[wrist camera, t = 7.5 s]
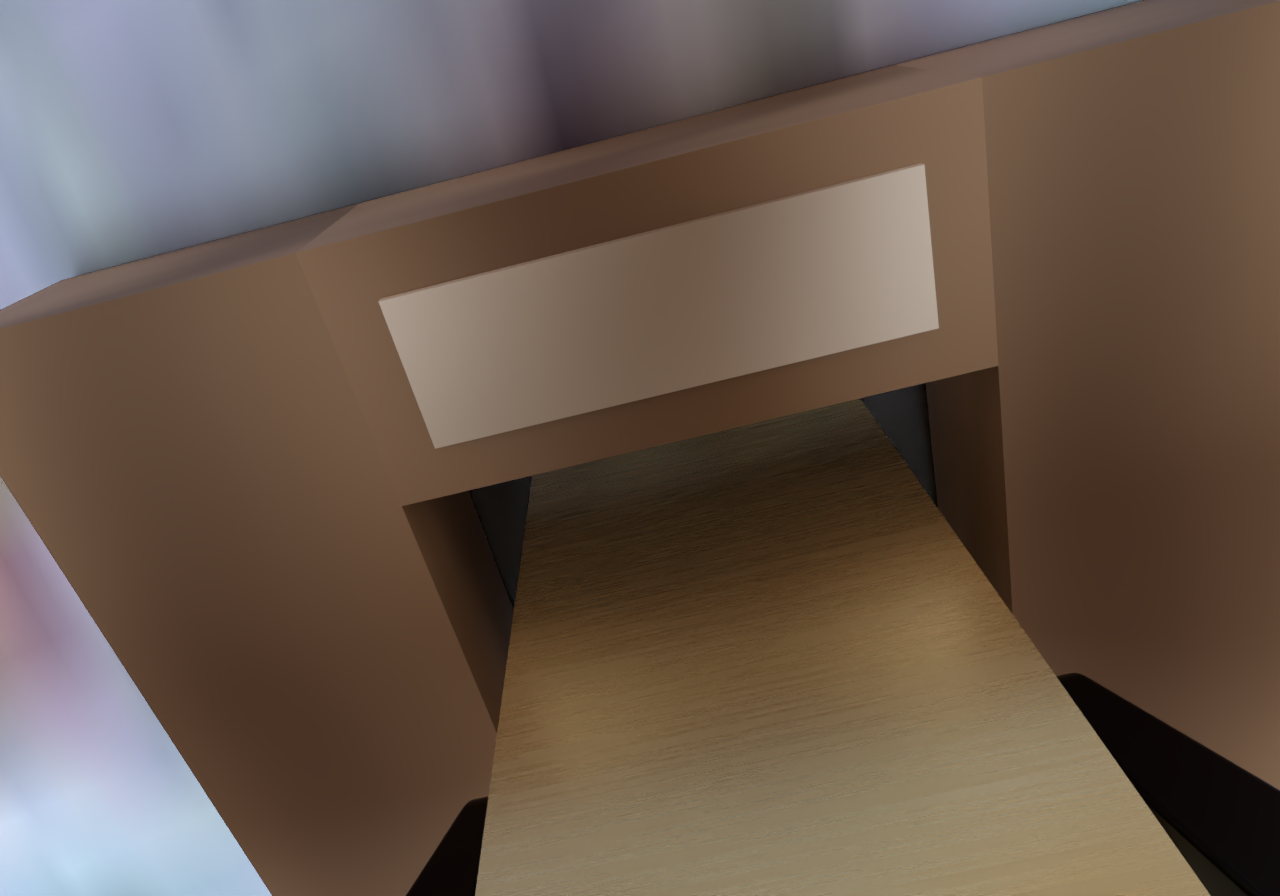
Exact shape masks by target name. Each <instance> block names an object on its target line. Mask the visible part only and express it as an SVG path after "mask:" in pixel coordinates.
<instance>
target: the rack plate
mask: <svg viewBox="0 0 1280 896" xmlns="http://www.w3.org/2000/svg"><path fill="white" fill-rule="evenodd" d="M923 383H926V392H927V402H928V412H929V422H930V433H931V443H932V453H933V463H934V473H935V483H936V494H937V504H938V509H939V511H940V512H941V514H942V515H943V516H944V518H945V519H946V521H947V522H948V524H949V525H950V526H951V528H952V529H953V531H954V532H955V533H956V535H957V536H958V538H959V539H960V541H961V542H962V543H963V545H964V546H965V548H966V549H967V551H968V552H969V553H970V555H971V556H972V558H973V559H974V560H975V562H976V563H977V565H978V566H979V568H980V569H981V570H982V572H983V573H984V575H985V576H986V577H987V579H988V580H989V582H990V583H991V585H992V586H993V587H994V589H995V590H996V592H997V593H998V595H999V596H1000V597H1001V599H1002V600H1003V602H1004V603H1005V604H1006V606H1007V607H1008V609H1009V610H1010V612H1011V613H1012V614H1013V616H1014V617H1015V619H1016V620H1017V621H1018V623H1019V624H1020V626H1021V627H1022V629H1023V630H1024V631H1025V633H1026V634H1027V636H1028V637H1029V639H1030V640H1031V641H1032V643H1033V644H1034V646H1035V647H1036V648H1037V650H1038V651H1039V653H1040V654H1041V656H1042V657H1043V658H1044V660H1045V661H1046V663H1047V664H1048V665H1049V667H1050V668H1051V670H1052V671H1053V673H1054V674H1055V675H1056V676H1059V675H1063V674H1068V673H1079V674H1082V675H1085V676H1087V677H1088V678H1090V679H1092V680H1093V681H1095V682H1097V683H1099V684H1100V685H1102V686H1104V687H1105V688H1107V689H1109V690H1110V691H1112V692H1114V693H1116V694H1117V695H1119V696H1121V697H1122V698H1124V699H1126V700H1127V701H1129V702H1131V703H1133V704H1134V705H1136V706H1138V707H1139V708H1141V709H1143V710H1145V711H1146V712H1148V713H1150V714H1151V715H1153V716H1155V717H1156V718H1158V719H1160V720H1162V721H1163V722H1165V723H1167V724H1168V725H1170V726H1172V727H1173V728H1175V729H1177V730H1179V731H1180V732H1182V733H1184V734H1185V735H1187V736H1189V737H1191V738H1192V739H1194V740H1196V741H1197V742H1199V743H1201V744H1202V745H1204V746H1206V747H1208V748H1209V749H1211V750H1213V751H1214V752H1216V753H1218V754H1219V755H1221V756H1223V757H1225V758H1226V759H1228V760H1230V761H1231V762H1233V763H1235V764H1236V765H1238V766H1240V767H1242V768H1243V769H1245V770H1247V771H1248V772H1250V773H1252V774H1254V775H1255V776H1257V777H1259V778H1260V779H1262V780H1264V781H1265V782H1267V783H1269V784H1271V785H1272V786H1274V787H1276V788H1277V789H1279V790H1280V0H1143V1H1139V2H1135V3H1132V4H1128V5H1124V6H1120V7H1116V8H1112V9H1108V10H1105V11H1101V12H1097V13H1093V14H1089V15H1085V16H1081V17H1077V18H1074V19H1070V20H1066V21H1062V22H1058V23H1054V24H1050V25H1047V26H1043V27H1039V28H1035V29H1031V30H1027V31H1023V32H1019V33H1016V34H1012V35H1008V36H1004V37H1000V38H996V39H992V40H989V41H985V42H981V43H977V44H973V45H969V46H965V47H961V48H958V49H954V50H950V51H946V52H942V53H938V54H934V55H931V56H927V57H923V58H919V59H915V60H911V61H907V62H903V63H900V64H896V65H892V66H888V67H884V68H880V69H876V70H873V71H869V72H865V73H861V74H857V75H853V76H849V77H845V78H842V79H838V80H834V81H830V82H826V83H822V84H818V85H815V86H811V87H807V88H803V89H799V90H795V91H791V92H787V93H784V94H780V95H776V96H772V97H768V98H764V99H760V100H756V101H753V102H749V103H745V104H741V105H737V106H733V107H729V108H726V109H722V110H718V111H714V112H710V113H706V114H702V115H698V116H695V117H691V118H687V119H683V120H679V121H675V122H671V123H668V124H664V125H660V126H656V127H652V128H648V129H644V130H640V131H637V132H633V133H629V134H625V135H621V136H617V137H613V138H610V139H606V140H602V141H598V142H594V143H590V144H586V145H582V146H579V147H575V148H571V149H567V150H563V151H559V152H555V153H552V154H548V155H544V156H540V157H536V158H532V159H528V160H524V161H521V162H517V163H513V164H509V165H505V166H501V167H497V168H494V169H490V170H486V171H482V172H478V173H474V174H470V175H466V176H463V177H459V178H455V179H451V180H447V181H443V182H439V183H436V184H432V185H428V186H424V187H420V188H416V189H412V190H408V191H405V192H401V193H397V194H393V195H389V196H385V197H381V198H378V199H374V200H370V201H366V202H362V203H358V204H354V205H350V206H347V207H343V208H339V209H335V210H331V211H327V212H323V213H320V214H316V215H312V216H308V217H304V218H300V219H296V220H292V221H289V222H285V223H281V224H277V225H273V226H269V227H265V228H262V229H258V230H254V231H250V232H246V233H242V234H238V235H234V236H231V237H227V238H223V239H219V240H215V241H211V242H207V243H203V244H200V245H196V246H192V247H188V248H184V249H180V250H176V251H173V252H169V253H165V254H161V255H157V256H153V257H149V258H145V259H142V260H138V261H134V262H130V263H126V264H122V265H118V266H115V267H111V268H107V269H103V270H99V271H95V272H91V273H87V274H84V275H80V276H76V277H72V278H68V279H64V280H61V281H59V282H57V283H55V284H53V285H51V286H49V287H47V288H45V289H43V290H41V291H39V292H36V293H34V294H32V295H30V296H28V297H26V298H24V299H22V300H20V301H18V302H16V303H14V304H12V305H10V306H8V307H6V308H3V309H1V310H0V476H1V478H2V479H3V481H4V482H5V484H6V485H7V487H8V488H9V490H10V491H11V493H12V495H13V496H14V498H15V499H16V501H17V502H18V504H19V505H20V507H21V508H22V510H23V512H24V513H25V515H26V516H27V518H28V519H29V521H30V522H31V524H32V525H33V527H34V529H35V530H36V532H37V533H38V535H39V536H40V538H41V539H42V541H43V542H44V544H45V546H46V547H47V549H48V550H49V552H50V553H51V555H52V556H53V558H54V559H55V561H56V562H57V564H58V566H59V567H60V569H61V570H62V572H63V573H64V575H65V576H66V578H67V579H68V581H69V583H70V584H71V586H72V587H73V589H74V590H75V592H76V593H77V595H78V596H79V598H80V600H81V601H82V603H83V604H84V606H85V607H86V609H87V610H88V612H89V613H90V615H91V617H92V618H93V620H94V621H95V623H96V624H97V626H98V627H99V629H100V630H101V632H102V634H103V635H104V637H105V638H106V640H107V641H108V643H109V644H110V646H111V647H112V649H113V650H114V652H115V654H116V655H117V657H118V658H119V660H120V661H121V663H122V664H123V666H124V667H125V669H126V671H127V672H128V674H129V675H130V677H131V678H132V680H133V681H134V683H135V684H136V686H137V688H138V689H139V691H140V692H141V694H142V695H143V697H144V698H145V700H146V701H147V703H148V705H149V706H150V708H151V709H152V711H153V712H154V714H155V715H156V717H157V718H158V720H159V721H160V723H161V725H162V726H163V728H164V729H165V731H166V732H167V734H168V735H169V737H170V738H171V740H172V742H173V743H174V745H175V746H176V748H177V749H178V751H179V752H180V754H181V755H182V757H183V759H184V760H185V762H186V763H187V765H188V766H189V768H190V769H191V771H192V772H193V774H194V776H195V777H196V779H197V780H198V782H199V783H200V785H201V786H202V788H203V789H204V791H205V793H206V794H207V796H208V797H209V799H210V800H211V802H212V803H213V805H214V806H215V808H216V809H217V811H218V813H219V814H220V816H221V817H222V819H223V820H224V822H225V823H226V825H227V826H228V828H229V830H230V831H231V833H232V834H233V836H234V837H235V839H236V840H237V842H238V843H239V845H240V847H241V848H242V850H243V851H244V853H245V854H246V856H247V857H248V859H249V860H250V862H251V864H252V865H253V867H254V868H255V870H256V871H257V873H258V874H259V876H260V877H261V879H262V880H263V882H264V884H265V885H266V887H267V888H268V890H269V891H270V893H271V894H272V896H406V894H407V893H408V891H409V890H410V888H411V887H412V885H413V884H414V882H415V881H416V879H417V877H418V876H419V874H420V873H421V871H422V870H423V868H424V867H425V865H426V864H427V862H428V860H429V859H430V857H431V856H432V854H433V853H434V851H435V850H436V848H437V847H438V845H439V843H440V842H441V840H442V839H443V837H444V836H445V834H446V833H447V831H448V830H449V828H450V827H451V825H452V823H453V822H454V820H455V819H456V817H457V816H458V814H459V813H460V811H461V810H462V808H463V807H464V805H465V804H466V803H468V802H469V801H470V800H473V799H477V798H482V797H487V796H489V789H490V782H491V775H492V767H493V760H494V753H495V745H496V738H497V731H498V723H499V716H500V709H501V701H502V694H503V687H504V680H505V672H506V665H507V658H508V650H509V643H510V636H511V628H512V621H513V614H514V610H513V607H512V605H511V602H510V599H509V597H508V594H507V591H506V589H505V586H504V583H503V581H502V578H501V575H500V573H499V570H498V568H497V565H496V562H495V560H494V557H493V554H492V552H491V549H490V546H489V544H488V541H487V538H486V536H485V533H484V530H483V528H482V525H481V522H480V520H479V517H478V514H477V512H476V509H475V506H474V504H473V501H472V498H471V496H470V493H469V490H473V489H477V488H481V487H486V486H490V485H494V484H498V483H503V482H507V481H511V480H515V479H520V478H524V477H528V476H532V475H537V474H541V473H545V472H549V471H554V470H558V469H562V468H566V467H571V466H575V465H579V464H583V463H588V462H592V461H596V460H600V459H605V458H609V457H613V456H617V455H622V454H626V453H630V452H634V451H639V450H643V449H647V448H651V447H656V446H660V445H664V444H668V443H673V442H677V441H681V440H685V439H689V438H694V437H698V436H702V435H706V434H711V433H715V432H719V431H723V430H728V429H732V428H736V427H740V426H745V425H749V424H753V423H757V422H762V421H766V420H770V419H774V418H779V417H783V416H787V415H791V414H796V413H800V412H804V411H808V410H813V409H817V408H821V407H825V406H830V405H834V404H838V403H842V402H847V401H851V400H855V399H859V398H864V397H868V396H872V395H876V394H881V393H885V392H889V391H893V390H898V389H902V388H906V387H910V386H915V385H919V384H923Z"/></svg>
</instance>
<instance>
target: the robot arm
mask: <svg viewBox="0 0 1280 896" xmlns="http://www.w3.org/2000/svg"><path fill="white" fill-rule="evenodd" d="M1056 677H1057V678H1058V680H1059V681H1060V683H1061V684H1062V685H1063V687H1064V688H1065V690H1066V691H1067V692H1068V694H1069V695H1070V697H1071V698H1072V700H1073V701H1074V702H1075V704H1076V705H1077V707H1078V708H1079V709H1080V711H1081V712H1082V714H1083V715H1084V717H1085V718H1086V719H1087V721H1088V722H1089V724H1090V725H1091V726H1092V728H1093V729H1094V731H1095V732H1096V734H1097V735H1098V736H1099V738H1100V739H1101V741H1102V742H1103V744H1104V745H1105V746H1106V748H1107V749H1108V751H1109V752H1110V753H1111V755H1112V756H1113V758H1114V759H1115V761H1116V762H1117V763H1118V765H1119V766H1120V768H1121V769H1122V770H1123V772H1124V773H1125V775H1126V776H1127V778H1128V779H1129V780H1130V782H1131V783H1132V785H1133V786H1134V788H1135V789H1136V790H1137V792H1138V793H1139V795H1140V796H1141V797H1142V799H1143V800H1144V802H1145V803H1146V805H1147V806H1148V807H1149V809H1150V810H1151V812H1152V813H1153V814H1154V816H1155V817H1156V819H1157V820H1158V822H1159V823H1160V824H1161V826H1162V827H1163V829H1164V830H1165V832H1166V833H1167V834H1168V836H1169V837H1170V839H1171V840H1172V841H1173V843H1174V844H1175V846H1176V847H1177V849H1178V850H1179V851H1180V853H1181V854H1182V856H1183V857H1184V858H1185V860H1186V861H1187V863H1188V864H1189V866H1190V867H1191V868H1192V870H1193V871H1194V873H1195V874H1196V876H1197V877H1198V878H1199V880H1200V881H1201V883H1202V884H1203V885H1204V887H1205V888H1206V890H1207V891H1208V893H1209V894H1210V895H1211V896H1280V790H1279V789H1277V788H1276V787H1274V786H1272V785H1271V784H1269V783H1267V782H1265V781H1264V780H1262V779H1260V778H1259V777H1257V776H1255V775H1254V774H1252V773H1250V772H1248V771H1247V770H1245V769H1243V768H1242V767H1240V766H1238V765H1236V764H1235V763H1233V762H1231V761H1230V760H1228V759H1226V758H1225V757H1223V756H1221V755H1219V754H1218V753H1216V752H1214V751H1213V750H1211V749H1209V748H1208V747H1206V746H1204V745H1202V744H1201V743H1199V742H1197V741H1196V740H1194V739H1192V738H1191V737H1189V736H1187V735H1185V734H1184V733H1182V732H1180V731H1179V730H1177V729H1175V728H1173V727H1172V726H1170V725H1168V724H1167V723H1165V722H1163V721H1162V720H1160V719H1158V718H1156V717H1155V716H1153V715H1151V714H1150V713H1148V712H1146V711H1145V710H1143V709H1141V708H1139V707H1138V706H1136V705H1134V704H1133V703H1131V702H1129V701H1127V700H1126V699H1124V698H1122V697H1121V696H1119V695H1117V694H1116V693H1114V692H1112V691H1110V690H1109V689H1107V688H1105V687H1104V686H1102V685H1100V684H1099V683H1097V682H1095V681H1093V680H1092V679H1090V678H1088V677H1087V676H1085V675H1082V674H1079V673H1068V674H1063V675H1059V676H1056ZM488 797H489V796H487V797H482V798H477V799H473V800H470V801H469V802H468V803H466V804H465V805H464V807H463V808H462V810H461V811H460V813H459V814H458V816H457V817H456V819H455V820H454V822H453V823H452V825H451V827H450V828H449V830H448V831H447V833H446V834H445V836H444V837H443V839H442V840H441V842H440V843H439V845H438V847H437V848H436V850H435V851H434V853H433V854H432V856H431V857H430V859H429V860H428V862H427V864H426V865H425V867H424V868H423V870H422V871H421V873H420V874H419V876H418V877H417V879H416V881H415V882H414V884H413V885H412V887H411V888H410V890H409V891H408V893H407V894H406V896H475V892H476V885H477V877H478V870H479V863H480V855H481V848H482V841H483V833H484V826H485V819H486V811H487V804H488Z"/></svg>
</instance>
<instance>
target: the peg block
mask: <svg viewBox="0 0 1280 896" xmlns="http://www.w3.org/2000/svg"><path fill="white" fill-rule="evenodd" d="M475 896H1211V895H1210V894H1209V893H1208V891H1207V890H1206V888H1205V887H1204V885H1203V884H1202V883H1201V881H1200V880H1199V878H1198V877H1197V876H1196V874H1195V873H1194V871H1193V870H1192V868H1191V867H1190V866H1189V864H1188V863H1187V861H1186V860H1185V858H1184V857H1183V856H1182V854H1181V853H1180V851H1179V850H1178V849H1177V847H1176V846H1175V844H1174V843H1173V841H1172V840H1171V839H1170V837H1169V836H1168V834H1167V833H1166V832H1165V830H1164V829H1163V827H1162V826H1161V824H1160V823H1159V822H1158V820H1157V819H1156V817H1155V816H1154V814H1153V813H1152V812H1151V810H1150V809H1149V807H1148V806H1147V805H1146V803H1145V802H1144V800H1143V799H1142V797H1141V796H1140V795H1139V793H1138V792H1137V790H1136V789H1135V788H1134V786H1133V785H1132V783H1131V782H1130V780H1129V779H1128V778H1127V776H1126V775H1125V773H1124V772H1123V770H1122V769H1121V768H1120V766H1119V765H1118V763H1117V762H1116V761H1115V759H1114V758H1113V756H1112V755H1111V753H1110V752H1109V751H1108V749H1107V748H1106V746H1105V745H1104V744H1103V742H1102V741H1101V739H1100V738H1099V736H1098V735H1097V734H1096V732H1095V731H1094V729H1093V728H1092V726H1091V725H1090V724H1089V722H1088V721H1087V719H1086V718H1085V717H1084V715H1083V714H1082V712H1081V711H1080V709H1079V708H1078V707H1077V705H1076V704H1075V702H1074V701H1073V700H1072V698H1071V697H1070V695H1069V694H1068V692H1067V691H1066V690H1065V688H1064V687H1063V685H1062V684H1061V683H1060V681H1059V680H1058V678H1057V677H1056V675H1055V674H1054V673H1053V671H1052V670H1051V668H1050V667H1049V665H1048V664H1047V663H1046V661H1045V660H1044V658H1043V657H1042V656H1041V654H1040V653H1039V651H1038V650H1037V648H1036V647H1035V646H1034V644H1033V643H1032V641H1031V640H1030V639H1029V637H1028V636H1027V634H1026V633H1025V631H1024V630H1023V629H1022V627H1021V626H1020V624H1019V623H1018V621H1017V620H1016V619H1015V617H1014V616H1013V614H1012V613H1011V612H1010V610H1009V609H1008V607H1007V606H1006V604H1005V603H1004V602H1003V600H1002V599H1001V597H1000V596H999V595H998V593H997V592H996V590H995V589H994V587H993V586H992V585H991V583H990V582H989V580H988V579H987V577H986V576H985V575H984V573H983V572H982V570H981V569H980V568H979V566H978V565H977V563H976V562H975V560H974V559H973V558H972V556H971V555H970V553H969V552H968V551H967V549H966V548H965V546H964V545H963V543H962V542H961V541H960V539H959V538H958V536H957V535H956V533H955V532H954V531H953V529H952V528H951V526H950V525H949V524H948V522H947V521H946V519H945V518H944V516H943V515H942V514H941V512H940V511H939V509H938V508H937V507H936V505H935V504H934V502H933V501H932V499H931V498H930V497H929V495H928V494H927V492H926V491H925V490H924V488H923V487H922V485H921V484H920V482H919V481H918V480H917V478H916V477H915V475H914V474H913V472H912V471H911V470H910V468H909V467H908V465H907V464H906V463H905V461H904V460H903V458H902V457H901V455H900V454H899V453H898V451H897V450H896V448H895V447H894V446H893V444H892V443H891V441H890V440H889V438H888V437H887V436H886V434H885V433H884V431H883V430H882V428H881V427H880V426H879V424H878V423H877V421H876V420H875V419H874V417H873V416H872V414H871V413H870V411H869V410H868V409H867V407H866V406H865V404H864V403H863V402H862V400H861V399H860V398H859V399H855V400H851V401H847V402H842V403H838V404H834V405H830V406H825V407H821V408H817V409H813V410H808V411H804V412H800V413H796V414H791V415H787V416H783V417H779V418H774V419H770V420H766V421H762V422H757V423H753V424H749V425H745V426H740V427H736V428H732V429H728V430H723V431H719V432H715V433H711V434H706V435H702V436H698V437H694V438H689V439H685V440H681V441H677V442H673V443H668V444H664V445H660V446H656V447H651V448H647V449H643V450H639V451H634V452H630V453H626V454H622V455H617V456H613V457H609V458H605V459H600V460H596V461H592V462H588V463H583V464H579V465H575V466H571V467H566V468H562V469H558V470H554V471H549V472H545V473H541V474H537V475H532V482H531V489H530V496H529V504H528V511H527V518H526V526H525V533H524V540H523V548H522V555H521V562H520V570H519V577H518V584H517V592H516V599H515V606H514V614H513V621H512V628H511V636H510V643H509V650H508V658H507V665H506V672H505V680H504V687H503V694H502V701H501V709H500V716H499V723H498V731H497V738H496V745H495V753H494V760H493V767H492V775H491V782H490V789H489V797H488V804H487V811H486V819H485V826H484V833H483V841H482V848H481V855H480V863H479V870H478V877H477V885H476V892H475Z"/></svg>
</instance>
